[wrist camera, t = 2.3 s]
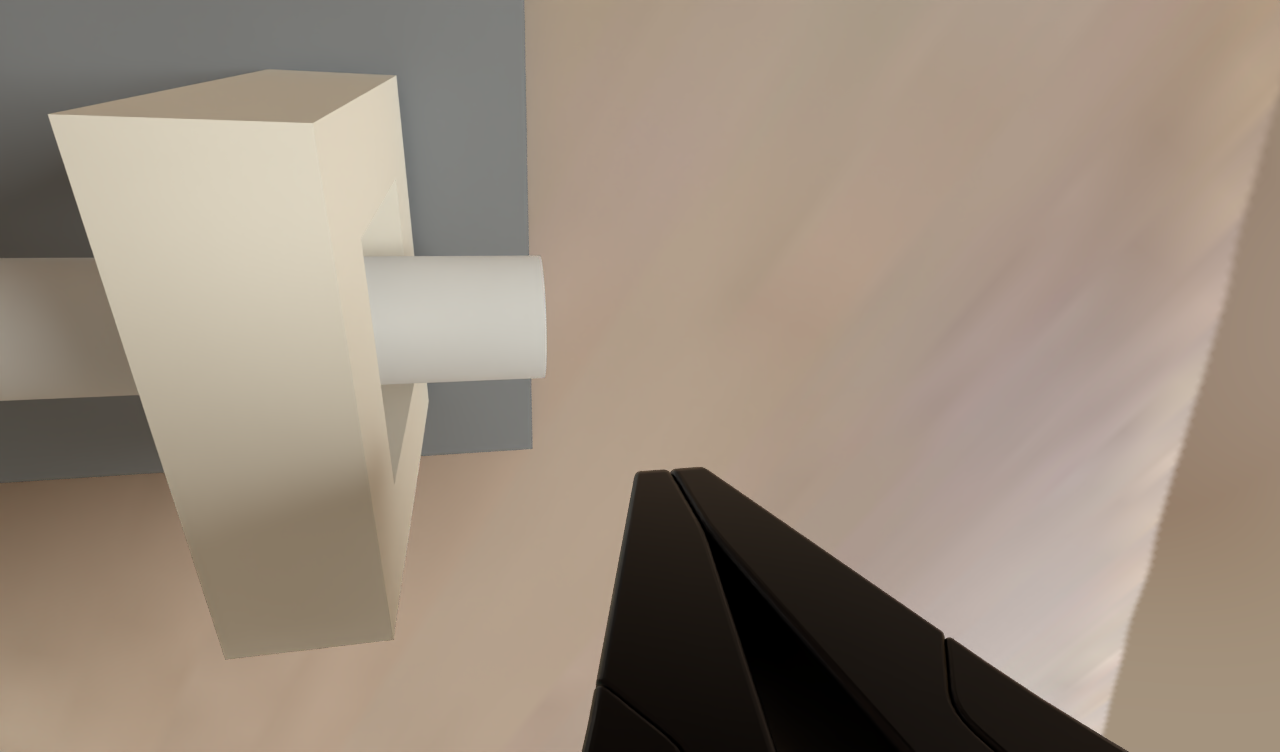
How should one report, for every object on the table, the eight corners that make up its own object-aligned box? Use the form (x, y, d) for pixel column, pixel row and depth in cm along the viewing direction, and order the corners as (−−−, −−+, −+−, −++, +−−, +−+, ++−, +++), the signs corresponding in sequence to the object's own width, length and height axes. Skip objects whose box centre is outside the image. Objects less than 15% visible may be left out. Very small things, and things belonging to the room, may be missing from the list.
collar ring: (396, 75, 14) (312, 123, 7) (428, 401, 18) (393, 640, 11) (268, 69, 14) (48, 113, 7) (328, 405, 17) (225, 659, 10)
